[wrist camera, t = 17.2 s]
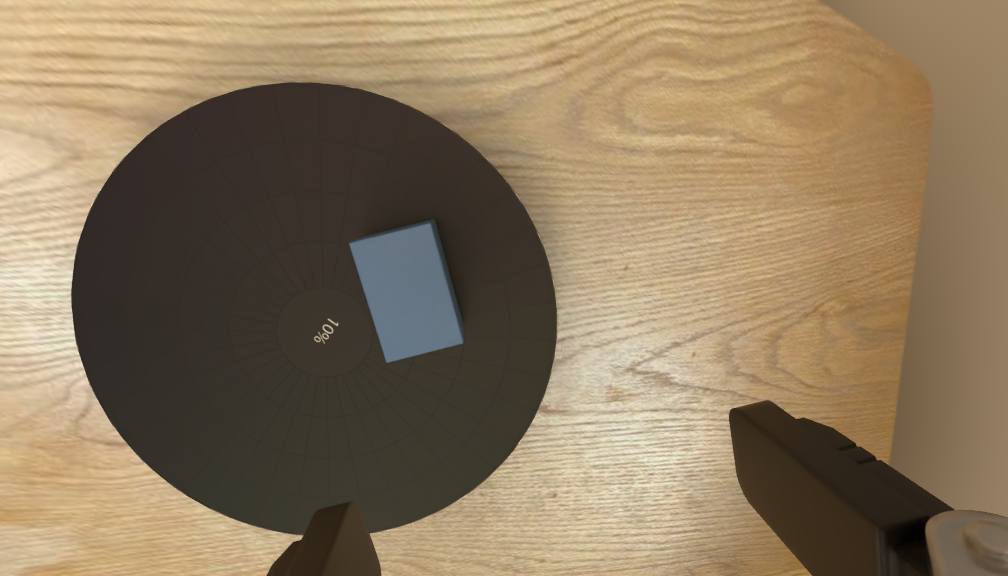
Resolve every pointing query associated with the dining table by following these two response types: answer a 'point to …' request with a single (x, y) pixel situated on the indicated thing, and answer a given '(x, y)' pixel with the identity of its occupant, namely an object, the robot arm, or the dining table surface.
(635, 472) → the dining table surface
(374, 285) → the sponge
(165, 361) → the disc
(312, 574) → the robot arm
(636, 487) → the dining table surface
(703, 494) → the dining table surface
